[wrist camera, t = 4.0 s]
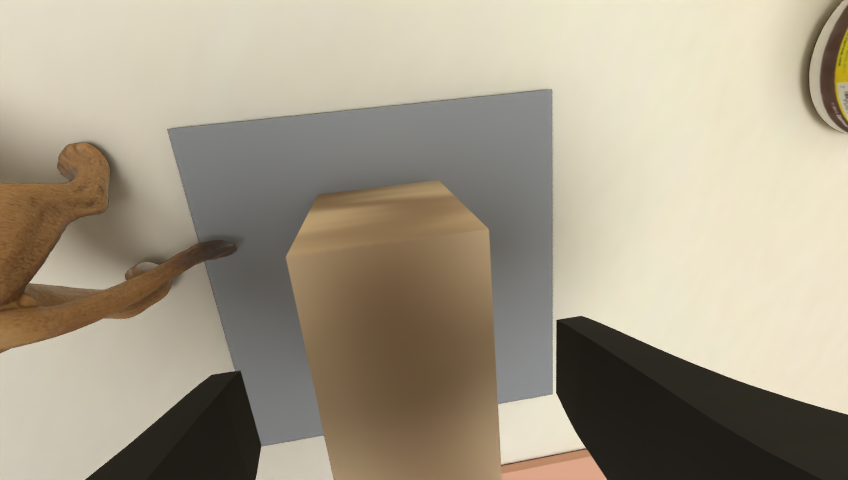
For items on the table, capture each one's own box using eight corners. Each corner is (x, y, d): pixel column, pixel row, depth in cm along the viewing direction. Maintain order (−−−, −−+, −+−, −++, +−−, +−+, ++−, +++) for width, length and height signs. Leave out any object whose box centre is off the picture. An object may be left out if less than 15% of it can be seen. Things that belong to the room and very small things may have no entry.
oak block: (350, 375, 16) (343, 524, 10) (317, 194, 14) (285, 256, 8) (454, 358, 16) (502, 492, 11) (438, 180, 14) (488, 229, 8)
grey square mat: (257, 443, 16) (256, 447, 16) (170, 128, 13) (167, 129, 13) (550, 390, 18) (552, 394, 17) (549, 89, 14) (552, 89, 14)
